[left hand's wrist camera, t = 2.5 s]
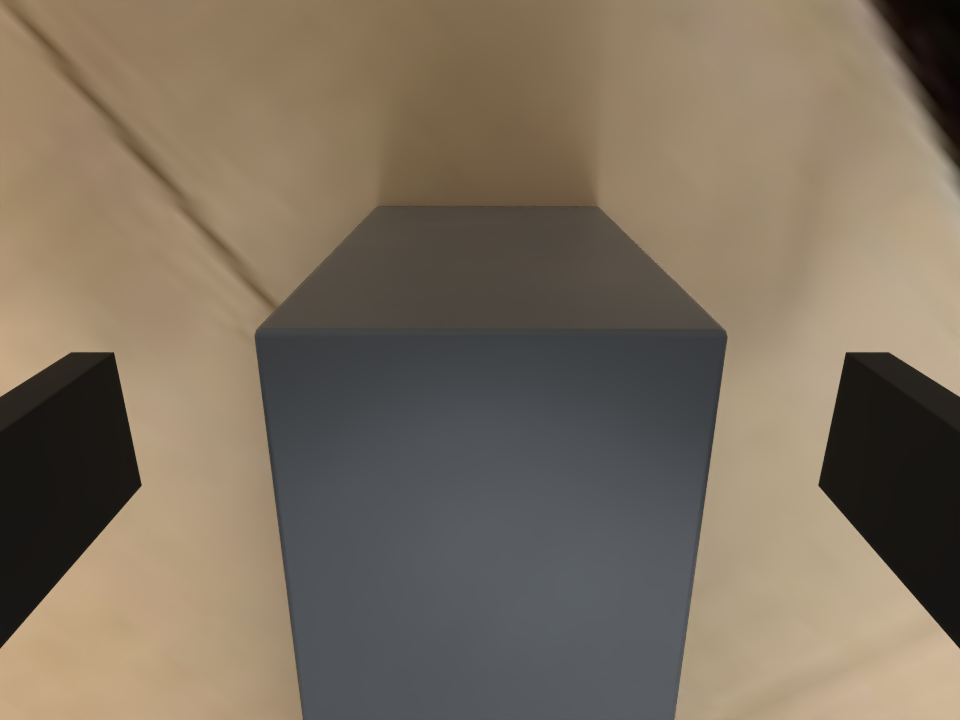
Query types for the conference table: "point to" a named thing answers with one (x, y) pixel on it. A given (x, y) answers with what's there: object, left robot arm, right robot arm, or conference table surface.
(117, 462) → the left robot arm
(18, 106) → the conference table surface
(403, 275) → the bar
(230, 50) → the conference table surface
